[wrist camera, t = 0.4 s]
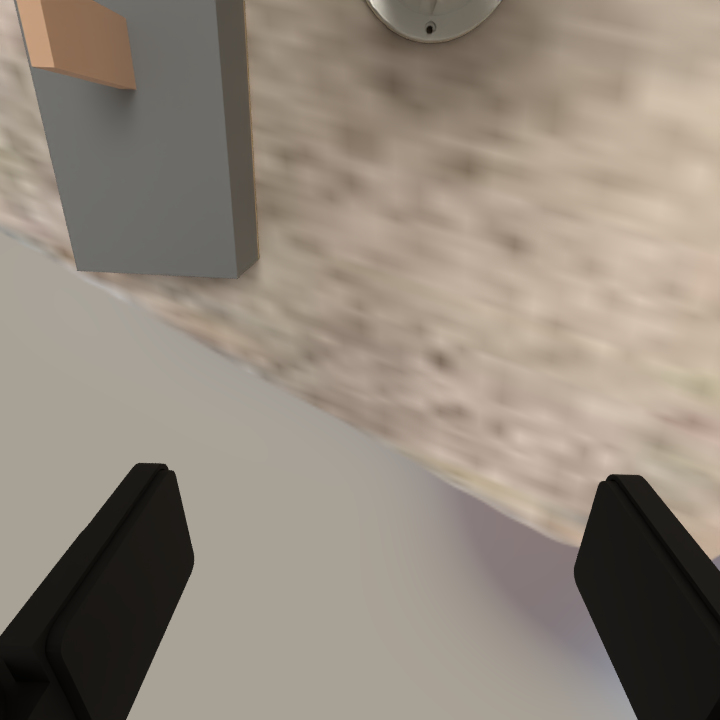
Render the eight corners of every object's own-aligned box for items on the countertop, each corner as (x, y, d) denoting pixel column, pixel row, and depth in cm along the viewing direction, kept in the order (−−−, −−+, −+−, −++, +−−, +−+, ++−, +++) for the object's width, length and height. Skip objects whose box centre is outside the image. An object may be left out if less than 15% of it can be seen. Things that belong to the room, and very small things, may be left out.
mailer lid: (21, -49, 29) (-150, -146, 20) (220, -42, 29) (144, -137, 19) (90, 265, 38) (-5, 302, 28) (243, 273, 38) (198, 312, 28)
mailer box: (79, -5, 35) (12, -41, 28) (244, 1, 34) (214, -34, 28) (127, 252, 43) (83, 269, 37) (259, 258, 43) (238, 276, 36)
